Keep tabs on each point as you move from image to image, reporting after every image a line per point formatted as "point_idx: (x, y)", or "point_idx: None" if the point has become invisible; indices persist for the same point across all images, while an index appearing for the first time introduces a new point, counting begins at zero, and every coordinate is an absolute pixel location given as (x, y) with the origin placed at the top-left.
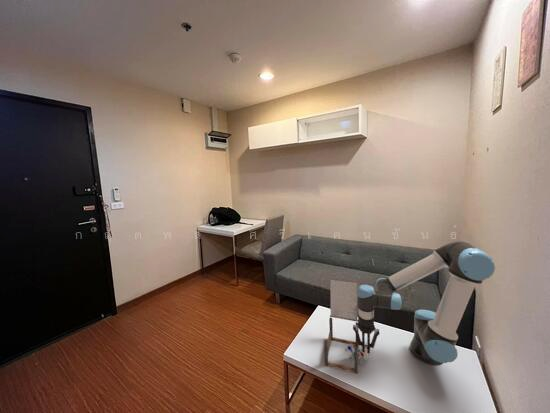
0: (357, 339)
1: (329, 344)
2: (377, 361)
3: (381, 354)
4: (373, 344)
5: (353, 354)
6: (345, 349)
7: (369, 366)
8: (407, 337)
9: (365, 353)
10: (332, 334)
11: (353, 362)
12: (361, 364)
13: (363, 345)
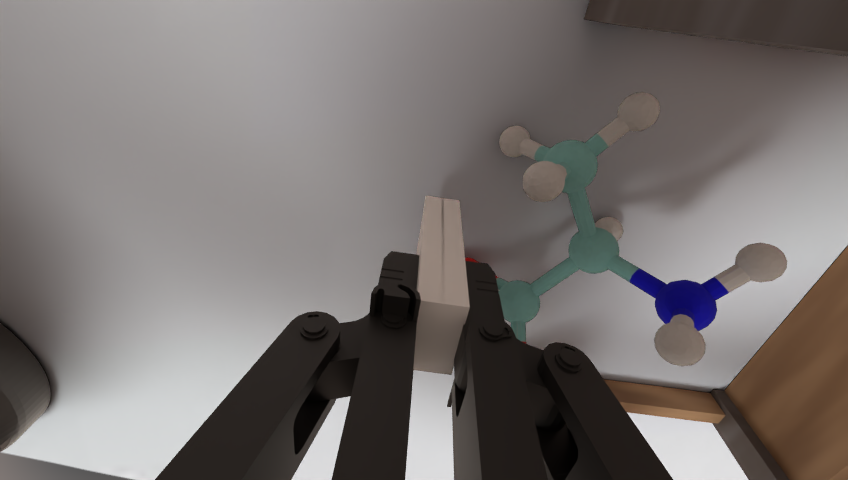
0: (659, 475)
1: (843, 343)
2: (316, 216)
3: (274, 301)
4: (268, 382)
5: (602, 235)
6: (786, 263)
7: (412, 132)
8: (90, 457)
9: (450, 245)
10: (744, 452)
11: (652, 97)
12: (511, 129)
13: (492, 347)
